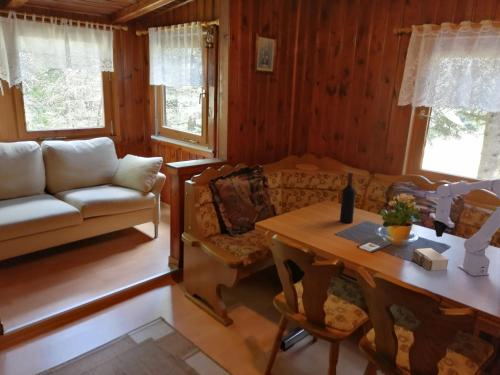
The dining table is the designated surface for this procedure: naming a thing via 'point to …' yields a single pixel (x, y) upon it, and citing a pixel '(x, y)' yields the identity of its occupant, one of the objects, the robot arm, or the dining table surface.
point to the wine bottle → (348, 202)
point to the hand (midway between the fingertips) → (438, 236)
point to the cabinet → (433, 259)
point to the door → (417, 257)
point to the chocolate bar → (374, 245)
